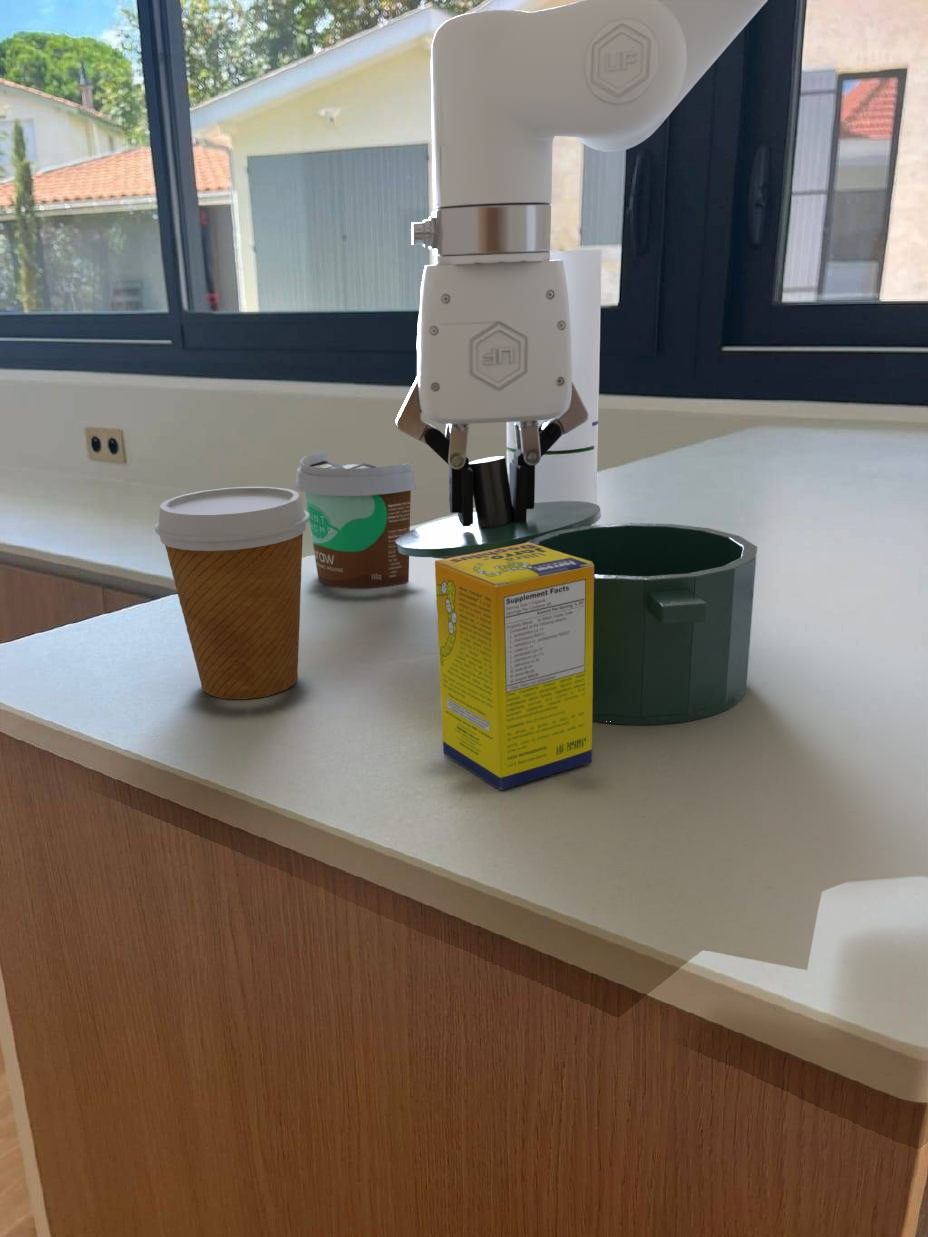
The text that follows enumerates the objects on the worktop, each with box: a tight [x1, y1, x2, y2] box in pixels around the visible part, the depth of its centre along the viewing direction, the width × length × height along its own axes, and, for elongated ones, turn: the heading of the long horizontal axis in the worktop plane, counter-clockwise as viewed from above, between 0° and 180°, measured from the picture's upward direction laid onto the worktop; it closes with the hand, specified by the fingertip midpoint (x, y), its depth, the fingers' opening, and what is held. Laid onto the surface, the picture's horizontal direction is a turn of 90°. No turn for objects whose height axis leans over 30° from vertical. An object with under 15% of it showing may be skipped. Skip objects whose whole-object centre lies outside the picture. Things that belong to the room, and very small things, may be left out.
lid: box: [396, 455, 602, 560], centre depth 78 cm, size 15×15×6 cm
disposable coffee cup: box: [154, 486, 309, 700], centre depth 70 cm, size 10×10×12 cm
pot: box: [527, 522, 758, 726], centre depth 67 cm, size 14×19×8 cm
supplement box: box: [434, 543, 594, 791], centre depth 57 cm, size 6×6×11 cm
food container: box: [295, 450, 417, 589], centre depth 93 cm, size 12×6×10 cm, turn 40°
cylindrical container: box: [506, 248, 603, 526], centre depth 87 cm, size 7×7×25 cm
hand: (491, 518), depth 79 cm, fingers closed on lid, 3 cm apart
